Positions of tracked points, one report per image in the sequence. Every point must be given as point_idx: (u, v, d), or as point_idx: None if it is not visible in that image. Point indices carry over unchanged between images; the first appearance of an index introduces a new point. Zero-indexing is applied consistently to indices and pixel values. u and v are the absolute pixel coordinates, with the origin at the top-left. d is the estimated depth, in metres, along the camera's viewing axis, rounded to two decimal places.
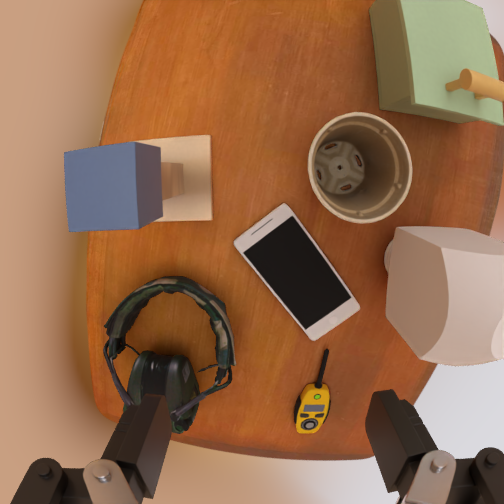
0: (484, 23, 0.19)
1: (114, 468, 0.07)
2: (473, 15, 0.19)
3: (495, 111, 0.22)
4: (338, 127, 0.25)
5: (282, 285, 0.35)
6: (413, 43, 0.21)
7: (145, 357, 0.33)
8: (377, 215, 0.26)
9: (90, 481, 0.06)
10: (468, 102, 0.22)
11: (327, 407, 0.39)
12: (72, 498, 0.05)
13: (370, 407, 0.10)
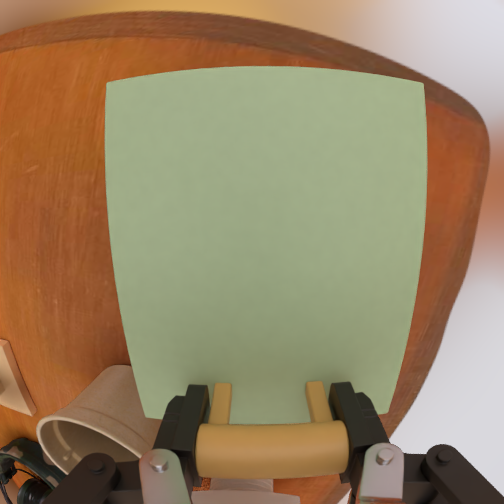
0: (417, 142, 0.10)
1: (171, 457, 0.07)
2: (378, 124, 0.10)
3: None
4: None
5: None
6: (130, 304, 0.11)
7: (25, 489, 0.24)
8: None
9: (144, 469, 0.07)
10: (283, 403, 0.13)
11: None
12: (127, 491, 0.06)
13: (329, 398, 0.11)
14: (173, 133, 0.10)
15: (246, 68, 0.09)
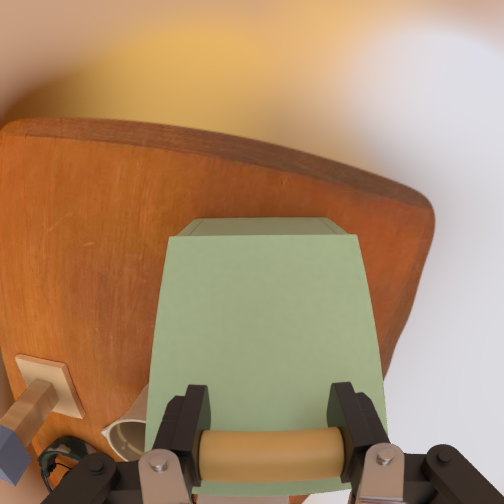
0: (357, 267, 0.18)
1: (170, 457, 0.07)
2: (330, 260, 0.18)
3: None
4: (132, 412, 0.26)
5: None
6: (159, 372, 0.14)
7: None
8: None
9: (144, 469, 0.07)
10: None
11: None
12: (126, 491, 0.06)
13: (329, 398, 0.11)
14: (208, 267, 0.18)
15: (251, 235, 0.19)
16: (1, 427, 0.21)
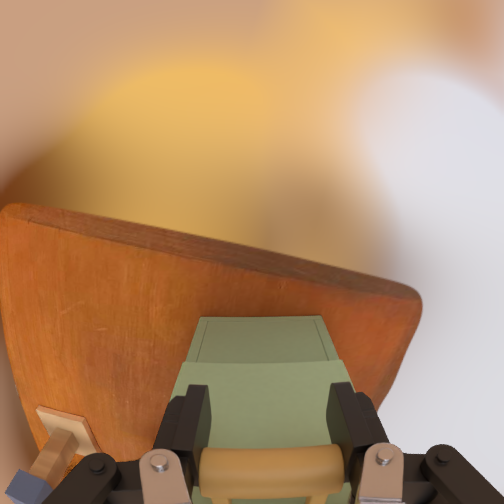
0: (344, 379, 0.19)
1: (171, 457, 0.07)
2: (320, 376, 0.20)
3: None
4: None
5: None
6: None
7: None
8: None
9: (145, 468, 0.07)
10: None
11: None
12: (127, 491, 0.06)
13: (328, 398, 0.11)
14: (215, 382, 0.20)
15: None
16: (33, 477, 0.23)
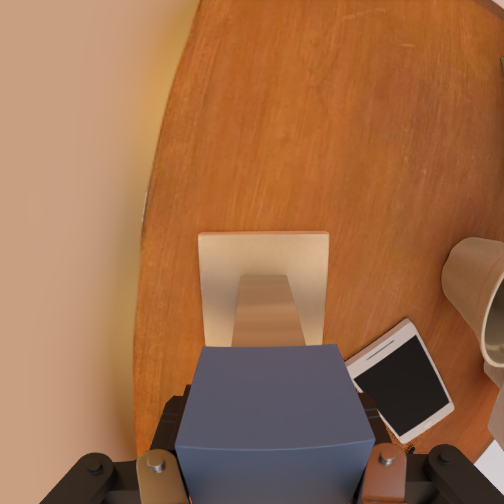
0: None
1: (168, 457, 0.07)
2: None
3: None
4: None
5: (387, 404, 0.25)
6: None
7: None
8: None
9: (142, 469, 0.07)
10: None
11: None
12: (124, 491, 0.06)
13: None
14: None
15: None
16: (285, 350, 0.11)
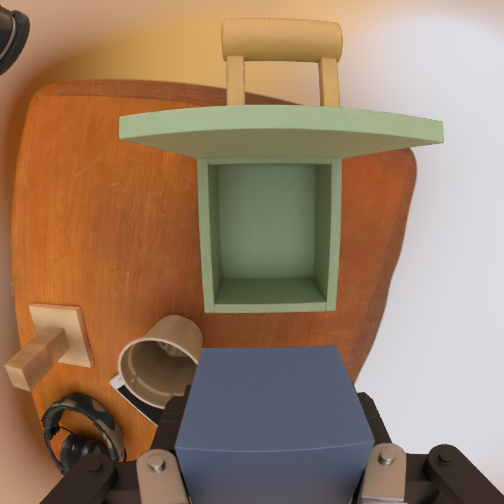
0: None
1: (168, 457, 0.07)
2: None
3: None
4: None
5: (148, 411, 0.40)
6: None
7: (69, 441, 0.38)
8: None
9: (142, 469, 0.07)
10: None
11: None
12: (124, 492, 0.06)
13: None
14: None
15: None
16: (285, 351, 0.11)
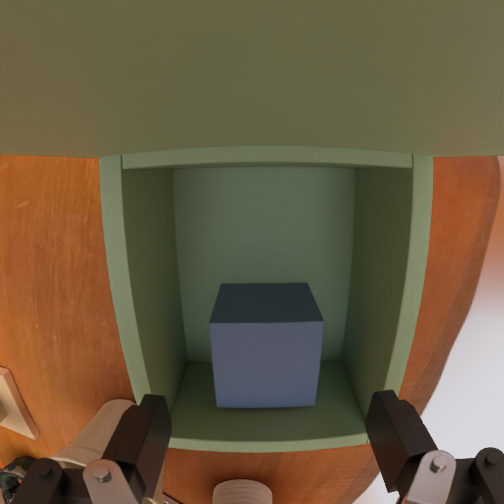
0: None
1: (114, 468, 0.07)
2: None
3: None
4: (74, 446, 0.15)
5: None
6: None
7: None
8: None
9: (90, 481, 0.06)
10: None
11: None
12: (72, 498, 0.05)
13: (370, 407, 0.10)
14: None
15: None
16: (274, 284, 0.18)
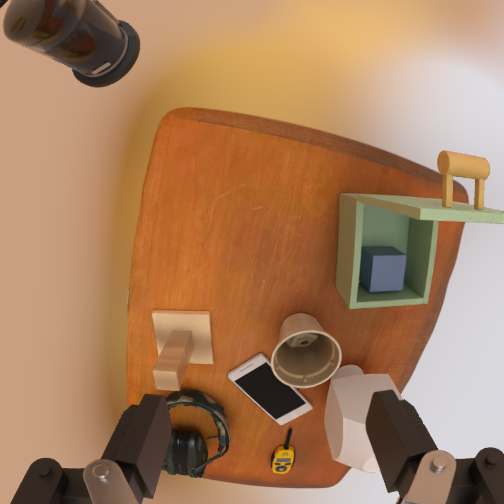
0: None
1: (114, 468, 0.07)
2: (437, 199, 0.32)
3: None
4: (294, 331, 0.40)
5: (259, 397, 0.50)
6: (392, 200, 0.26)
7: (173, 436, 0.48)
8: (315, 381, 0.41)
9: (90, 481, 0.06)
10: (474, 210, 0.21)
11: (292, 459, 0.54)
12: (72, 498, 0.05)
13: (370, 407, 0.10)
14: (386, 196, 0.32)
15: (398, 196, 0.34)
16: (381, 246, 0.43)
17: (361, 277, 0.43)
